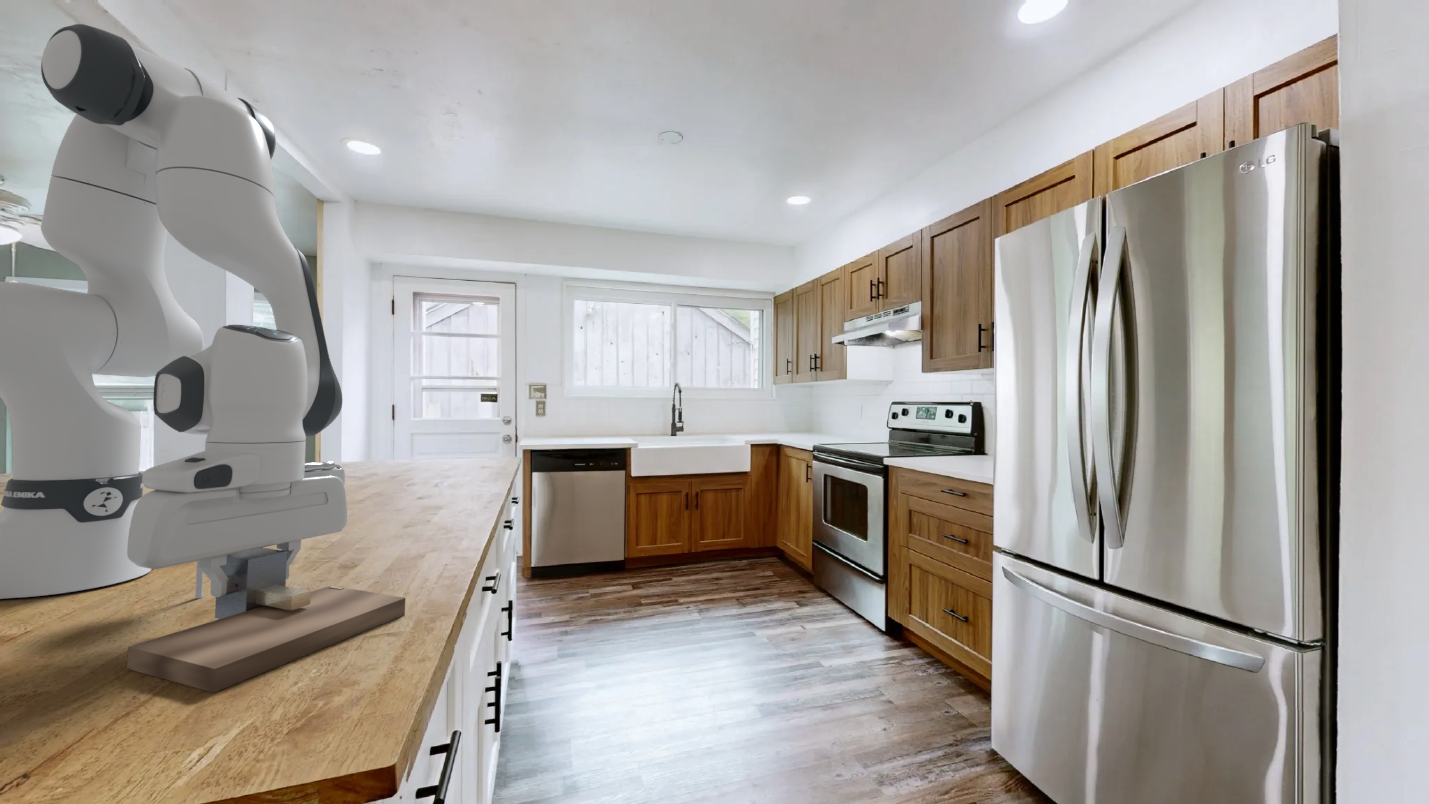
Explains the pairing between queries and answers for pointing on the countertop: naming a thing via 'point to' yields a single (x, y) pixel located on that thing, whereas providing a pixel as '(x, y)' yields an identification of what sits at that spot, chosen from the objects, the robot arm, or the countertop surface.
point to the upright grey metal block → (259, 583)
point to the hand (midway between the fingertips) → (251, 587)
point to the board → (261, 638)
